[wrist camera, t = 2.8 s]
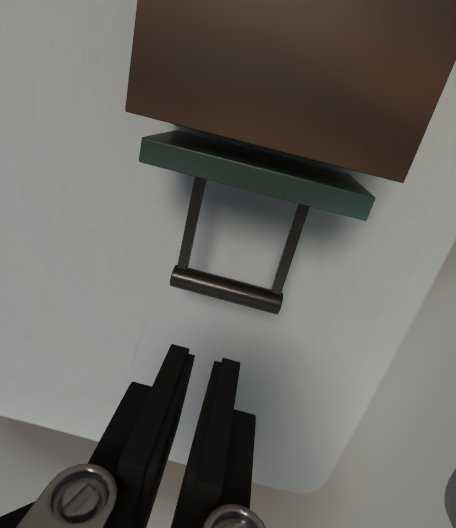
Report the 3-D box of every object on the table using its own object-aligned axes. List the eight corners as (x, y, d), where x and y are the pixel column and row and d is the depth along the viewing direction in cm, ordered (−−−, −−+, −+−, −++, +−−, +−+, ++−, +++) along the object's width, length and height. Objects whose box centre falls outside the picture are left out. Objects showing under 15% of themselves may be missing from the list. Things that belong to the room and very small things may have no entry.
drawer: (306, 294, 27) (315, 349, 21) (155, 254, 27) (120, 297, 21) (437, -67, 19) (517, -155, 13) (218, -120, 19) (189, -232, 13)
